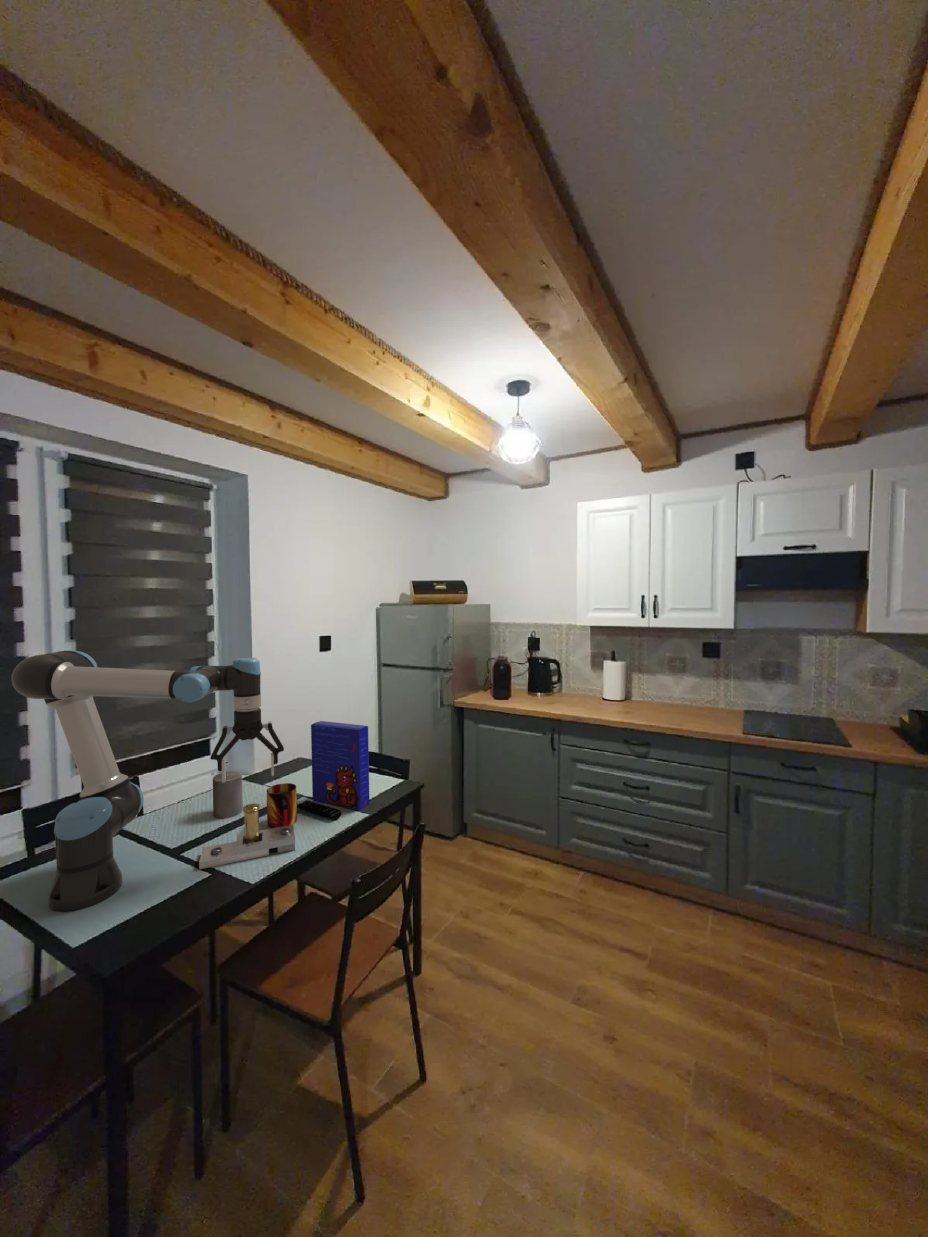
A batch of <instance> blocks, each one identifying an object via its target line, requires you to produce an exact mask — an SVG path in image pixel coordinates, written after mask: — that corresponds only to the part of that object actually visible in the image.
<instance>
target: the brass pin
mask: <svg viewBox="0 0 928 1237" xmlns="http://www.w3.org/2000/svg"><path fill="white" fill-rule="evenodd" d="M260 808H261V807H260V804H259V803H256V802H255V803H248V804H245V805H244V806H243V810H242V812H244V813H243V814H244V815H243V817H244V834H245V844H248V843H254V842H259V841H260V840H259V831H260V814H259V813H260V812H259V809H260Z"/></svg>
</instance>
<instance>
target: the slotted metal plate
mask: <svg viewBox="0 0 928 1237" xmlns="http://www.w3.org/2000/svg"><path fill="white" fill-rule="evenodd" d="M295 834H296V833H295V827H294V825H288V826H283V827H277V828H272V829H271V828H267V829H261V830H259V840H260V841H259V842H254V843H248V844H245V833H240V834H237V835H236V841H231V842H225V843H220V844H215V845H209V846H204V847H202V851H201V854H200V858H199V861H198V868H199V869H198V870H202V869H209V868H214V867H218V866H223V865H228V864H233V863H238V862H243V861H247V860H248V861H249V860H252V859H257V858H263V857H267V856H270V849H274V848H275V849H276V848H277V854H282V853H287V852H292V851H296V835H295Z"/></svg>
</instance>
